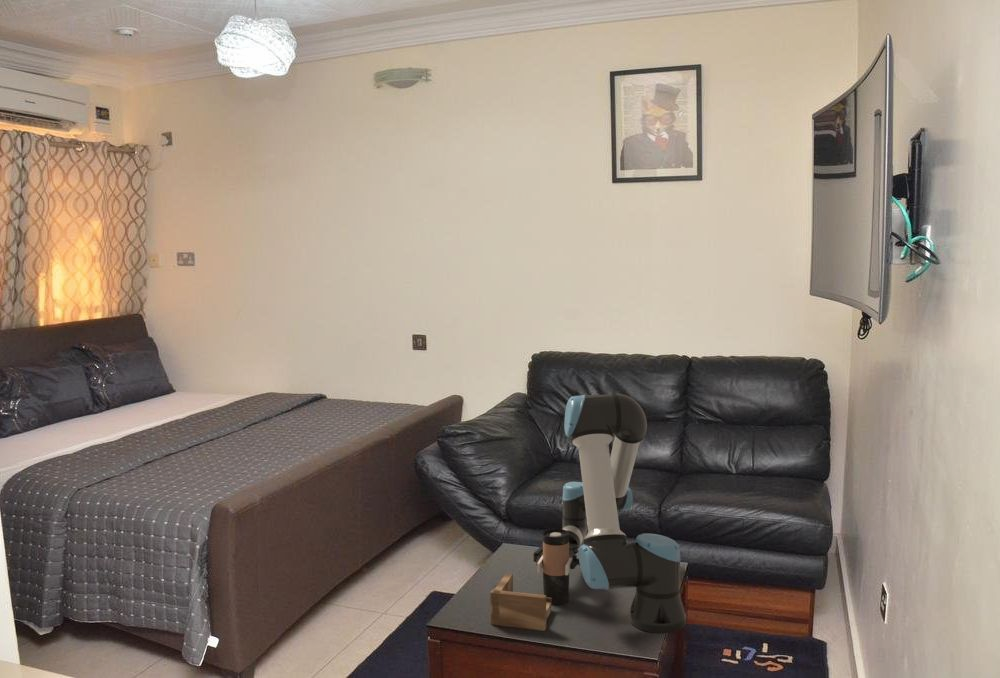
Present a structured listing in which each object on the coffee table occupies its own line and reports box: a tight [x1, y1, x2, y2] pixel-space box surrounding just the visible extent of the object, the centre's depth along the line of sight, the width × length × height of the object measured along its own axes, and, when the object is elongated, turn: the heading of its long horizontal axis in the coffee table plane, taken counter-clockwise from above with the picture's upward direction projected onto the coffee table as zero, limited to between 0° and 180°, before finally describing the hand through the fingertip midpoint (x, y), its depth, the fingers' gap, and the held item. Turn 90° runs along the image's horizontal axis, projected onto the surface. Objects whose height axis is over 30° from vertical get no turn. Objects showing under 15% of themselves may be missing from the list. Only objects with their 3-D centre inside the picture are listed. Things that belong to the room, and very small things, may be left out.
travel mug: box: [542, 528, 570, 606], centre depth 240 cm, size 8×8×20 cm
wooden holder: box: [489, 572, 552, 632], centre depth 230 cm, size 14×15×9 cm
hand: (552, 569), depth 236 cm, fingers closed on travel mug, 7 cm apart
